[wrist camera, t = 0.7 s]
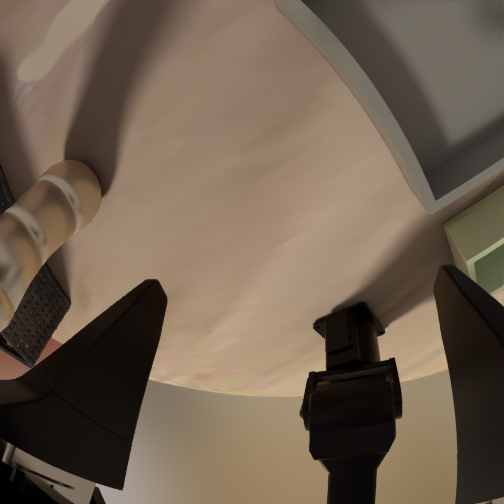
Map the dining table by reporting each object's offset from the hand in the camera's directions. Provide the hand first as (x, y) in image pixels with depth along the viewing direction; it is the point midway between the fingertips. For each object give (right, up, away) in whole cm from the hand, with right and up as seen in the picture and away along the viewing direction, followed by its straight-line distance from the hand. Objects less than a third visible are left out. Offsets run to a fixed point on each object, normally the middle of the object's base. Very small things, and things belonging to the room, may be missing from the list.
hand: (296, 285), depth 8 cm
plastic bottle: (-17, +8, +14) cm, 24 cm away
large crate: (+11, +14, +3) cm, 19 cm away
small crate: (+20, +3, +10) cm, 23 cm away
